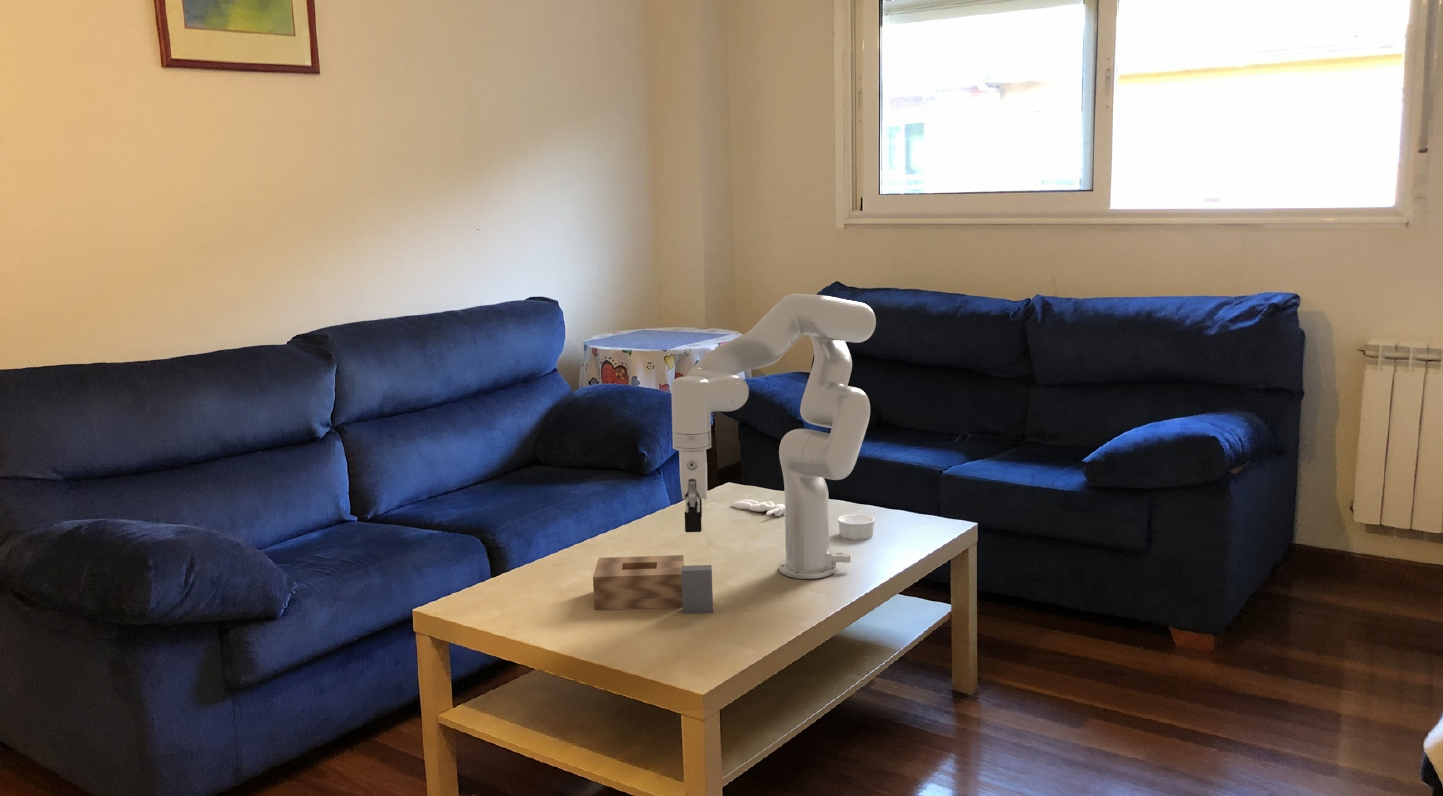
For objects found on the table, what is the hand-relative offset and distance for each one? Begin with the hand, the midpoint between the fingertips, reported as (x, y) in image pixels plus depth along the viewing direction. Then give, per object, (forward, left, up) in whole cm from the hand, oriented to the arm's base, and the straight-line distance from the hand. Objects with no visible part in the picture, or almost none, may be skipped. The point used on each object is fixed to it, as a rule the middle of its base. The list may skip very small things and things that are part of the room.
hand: (693, 524), depth 217 cm
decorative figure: (-16, -70, -19) cm, 74 cm away
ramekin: (-38, -46, -18) cm, 63 cm away
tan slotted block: (+12, -8, -18) cm, 23 cm away
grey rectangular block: (0, 0, -18) cm, 18 cm away
